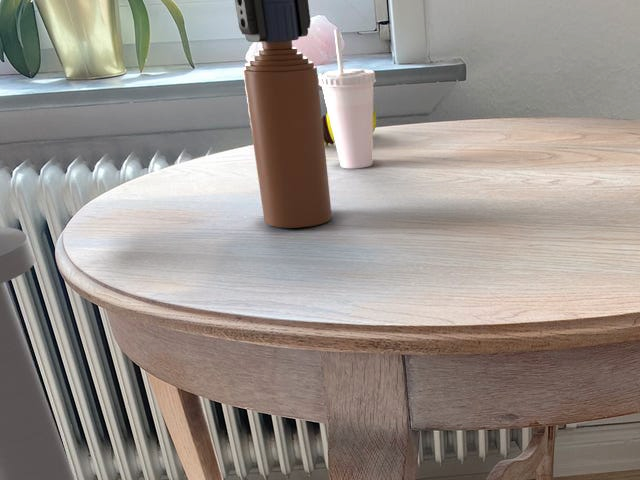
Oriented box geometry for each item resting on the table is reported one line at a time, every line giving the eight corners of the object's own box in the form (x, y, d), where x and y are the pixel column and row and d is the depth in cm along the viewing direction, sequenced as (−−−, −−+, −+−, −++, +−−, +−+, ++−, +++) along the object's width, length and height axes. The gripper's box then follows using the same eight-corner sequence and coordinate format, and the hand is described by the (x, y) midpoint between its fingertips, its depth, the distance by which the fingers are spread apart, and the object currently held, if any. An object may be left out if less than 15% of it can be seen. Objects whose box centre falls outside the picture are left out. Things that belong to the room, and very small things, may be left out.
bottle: (262, 229, 82) (230, 11, 72) (266, 212, 87) (238, 8, 78) (331, 226, 82) (309, 10, 73) (332, 209, 88) (311, 6, 78)
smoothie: (321, 163, 105) (303, 29, 97) (371, 156, 107) (358, 24, 99) (340, 174, 100) (323, 33, 92) (392, 165, 102) (380, 28, 94)
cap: (275, 42, 74) (270, -3, 73) (244, 40, 76) (238, -3, 75) (308, 38, 77) (303, -5, 75) (277, 37, 79) (272, -5, 77)
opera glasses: (345, 139, 120) (334, 100, 117) (381, 131, 118) (370, 91, 115) (319, 155, 112) (306, 114, 109) (356, 147, 110) (344, 104, 108)
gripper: (183, -231, 61) (232, 50, 70) (344, -218, 69) (368, 32, 79) (130, -218, 65) (182, 45, 75) (287, -207, 73) (316, 29, 83)
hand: (277, 37), depth 77 cm, fingers closed on cap, 3 cm apart
